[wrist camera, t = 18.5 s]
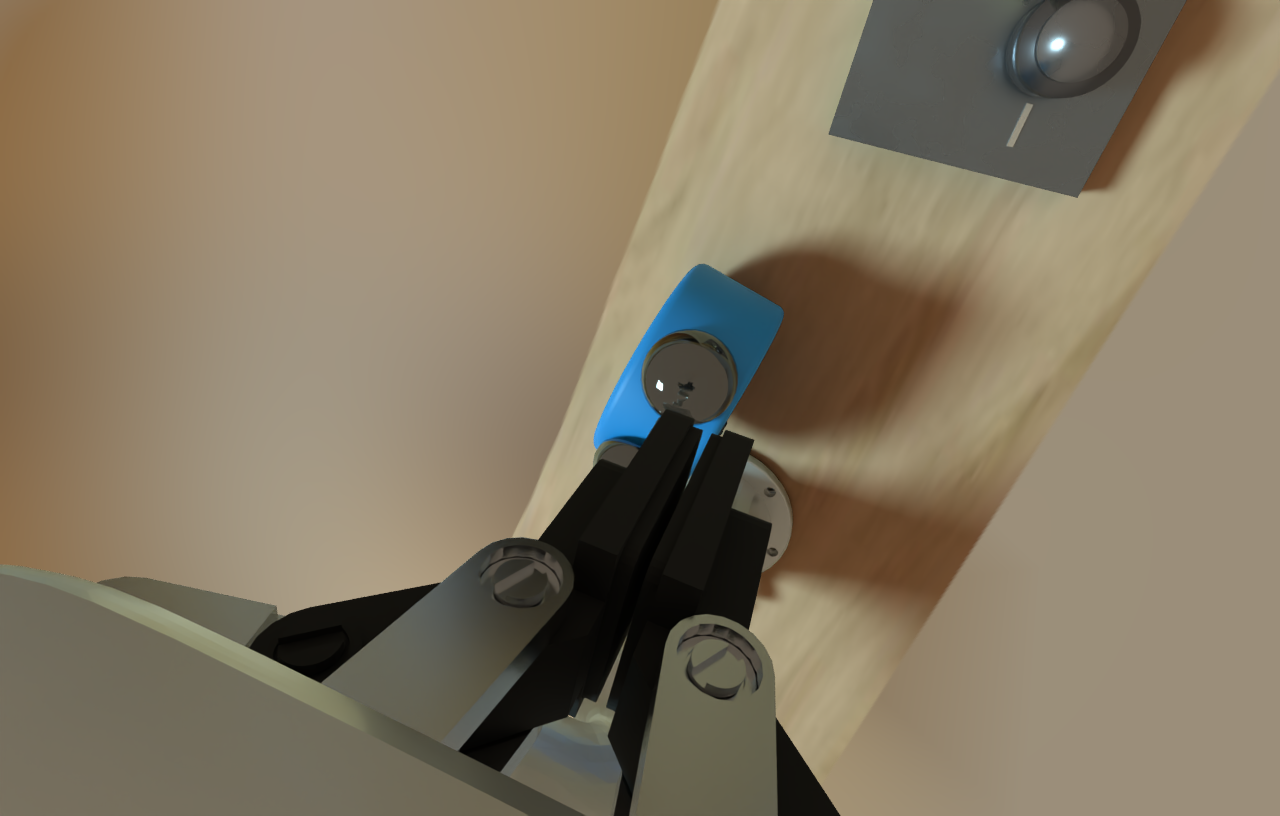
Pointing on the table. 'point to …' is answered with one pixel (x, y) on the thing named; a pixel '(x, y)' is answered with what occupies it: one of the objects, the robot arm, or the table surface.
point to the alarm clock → (689, 363)
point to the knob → (1071, 46)
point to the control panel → (981, 92)
